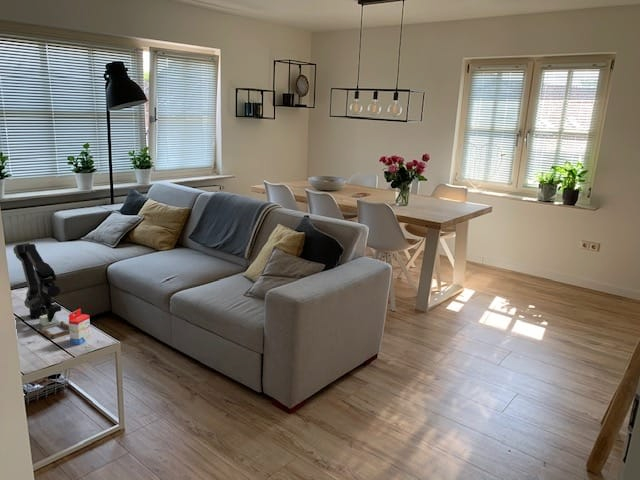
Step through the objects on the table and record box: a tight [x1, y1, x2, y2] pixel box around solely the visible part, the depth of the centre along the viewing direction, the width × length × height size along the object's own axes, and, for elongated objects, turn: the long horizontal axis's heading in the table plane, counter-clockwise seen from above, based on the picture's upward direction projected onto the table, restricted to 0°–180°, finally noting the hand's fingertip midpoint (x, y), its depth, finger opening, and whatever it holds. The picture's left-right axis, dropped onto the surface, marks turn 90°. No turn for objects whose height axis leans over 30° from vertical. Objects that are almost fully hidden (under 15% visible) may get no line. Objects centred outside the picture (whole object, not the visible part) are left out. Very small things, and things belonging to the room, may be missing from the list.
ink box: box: [68, 308, 91, 346], centre depth 231 cm, size 8×5×15 cm, turn 168°
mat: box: [34, 319, 61, 330], centre depth 247 cm, size 8×10×1 cm
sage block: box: [39, 314, 57, 326], centre depth 247 cm, size 4×6×4 cm, turn 142°
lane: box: [38, 320, 70, 340], centre depth 240 cm, size 13×11×2 cm
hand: (48, 320), depth 247 cm, fingers closed on sage block, 4 cm apart
